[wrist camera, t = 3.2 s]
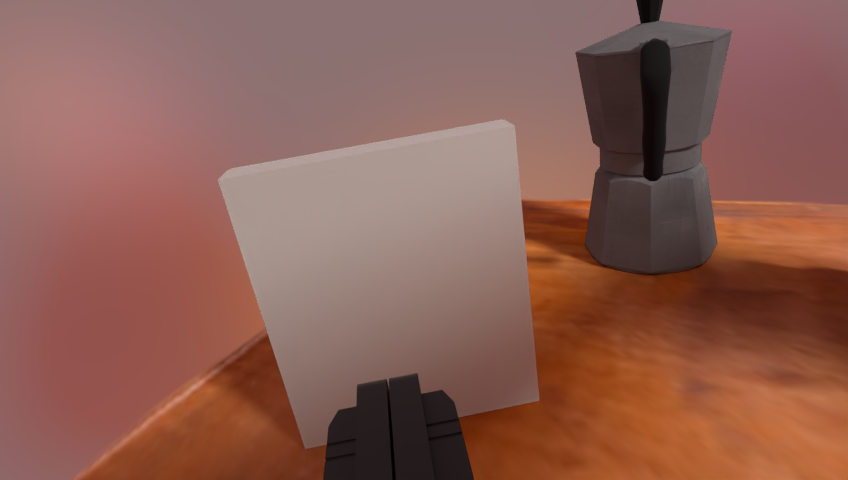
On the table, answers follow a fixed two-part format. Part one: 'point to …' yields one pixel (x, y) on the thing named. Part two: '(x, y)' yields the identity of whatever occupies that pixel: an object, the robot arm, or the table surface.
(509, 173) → the tile
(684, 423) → the table surface
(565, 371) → the table surface
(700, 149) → the coffeepot
